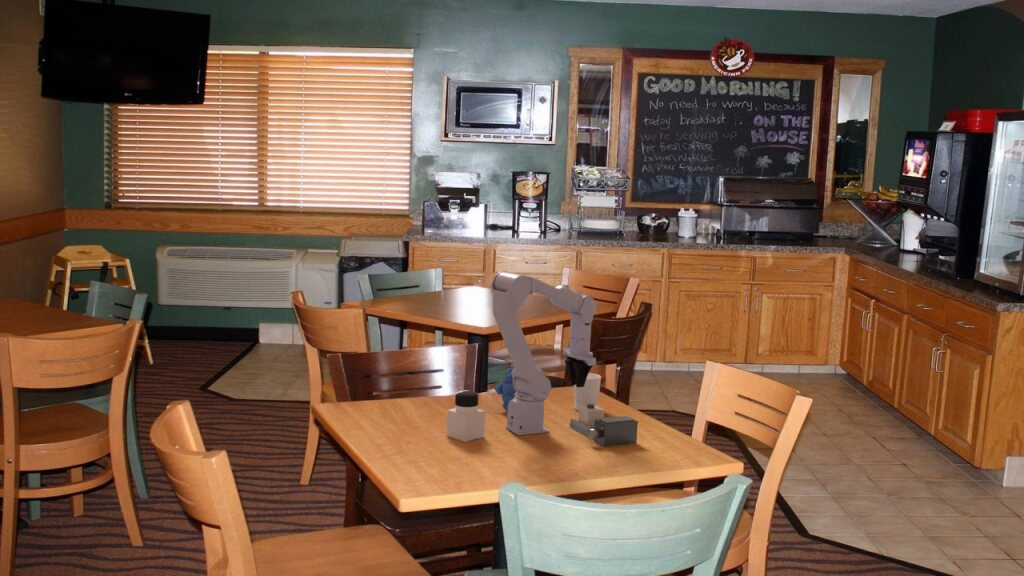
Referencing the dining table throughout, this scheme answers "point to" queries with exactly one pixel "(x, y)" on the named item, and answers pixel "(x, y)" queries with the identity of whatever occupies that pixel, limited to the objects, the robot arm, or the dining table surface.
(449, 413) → the medicine bottle
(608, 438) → the module housing
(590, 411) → the block
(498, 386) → the grapes
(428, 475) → the dining table surface
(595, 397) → the white cup
